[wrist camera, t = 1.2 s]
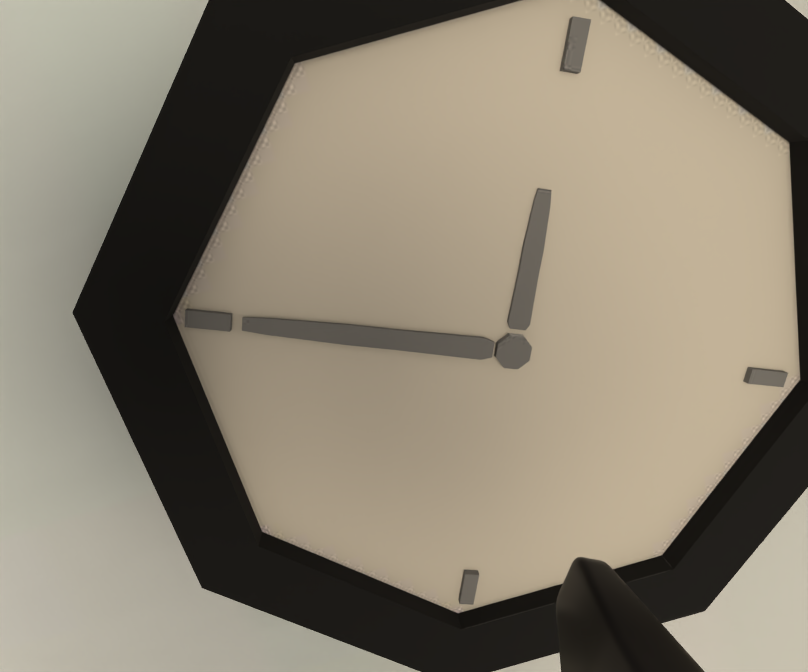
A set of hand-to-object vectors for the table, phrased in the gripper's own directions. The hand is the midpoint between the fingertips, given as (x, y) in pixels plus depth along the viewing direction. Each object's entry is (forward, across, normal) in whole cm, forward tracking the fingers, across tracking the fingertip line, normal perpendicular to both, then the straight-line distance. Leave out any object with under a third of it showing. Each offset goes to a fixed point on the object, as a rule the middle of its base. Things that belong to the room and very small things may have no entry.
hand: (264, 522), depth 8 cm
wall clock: (+15, -6, +2) cm, 16 cm away
